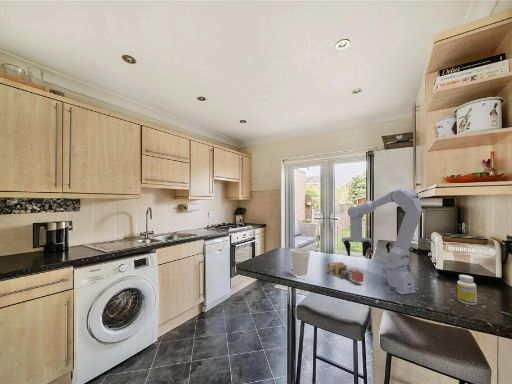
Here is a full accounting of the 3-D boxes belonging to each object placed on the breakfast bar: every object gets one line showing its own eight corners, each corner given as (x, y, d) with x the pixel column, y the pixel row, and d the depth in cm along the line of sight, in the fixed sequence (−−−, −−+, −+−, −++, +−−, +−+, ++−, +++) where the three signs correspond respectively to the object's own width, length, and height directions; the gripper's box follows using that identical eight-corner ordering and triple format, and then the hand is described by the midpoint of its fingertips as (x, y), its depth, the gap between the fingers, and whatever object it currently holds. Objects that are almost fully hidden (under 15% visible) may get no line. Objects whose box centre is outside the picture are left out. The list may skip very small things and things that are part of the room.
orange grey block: (363, 281, 97) (363, 273, 97) (357, 282, 96) (357, 274, 96) (346, 273, 107) (346, 266, 107) (341, 274, 106) (341, 267, 106)
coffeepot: (420, 278, 111) (419, 242, 111) (406, 279, 108) (405, 243, 108) (392, 268, 125) (392, 237, 126) (380, 270, 122) (379, 237, 123)
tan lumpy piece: (346, 275, 108) (346, 265, 108) (338, 276, 107) (338, 266, 107) (342, 273, 111) (342, 263, 111) (334, 274, 110) (334, 264, 110)
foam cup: (303, 272, 117) (303, 247, 118) (313, 278, 109) (313, 251, 109) (287, 274, 114) (287, 249, 115) (296, 280, 106) (296, 253, 106)
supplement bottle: (460, 297, 88) (460, 273, 89) (479, 303, 84) (478, 277, 84) (454, 300, 86) (454, 275, 86) (473, 306, 81) (472, 279, 81)
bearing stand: (356, 281, 105) (356, 267, 106) (339, 283, 102) (339, 269, 103) (341, 273, 116) (341, 261, 116) (325, 275, 113) (325, 263, 113)
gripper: (367, 229, 118) (367, 254, 118) (339, 228, 120) (340, 253, 119) (373, 230, 111) (373, 257, 111) (343, 230, 113) (343, 256, 112)
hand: (356, 255), depth 114 cm, fingers open, 7 cm apart
